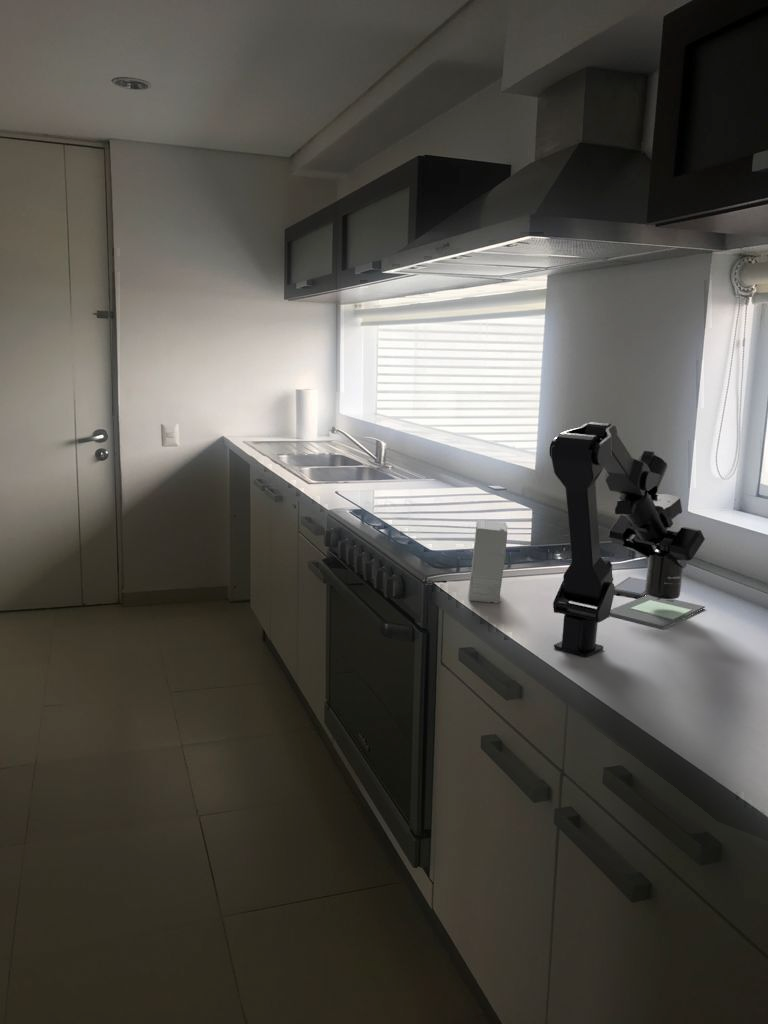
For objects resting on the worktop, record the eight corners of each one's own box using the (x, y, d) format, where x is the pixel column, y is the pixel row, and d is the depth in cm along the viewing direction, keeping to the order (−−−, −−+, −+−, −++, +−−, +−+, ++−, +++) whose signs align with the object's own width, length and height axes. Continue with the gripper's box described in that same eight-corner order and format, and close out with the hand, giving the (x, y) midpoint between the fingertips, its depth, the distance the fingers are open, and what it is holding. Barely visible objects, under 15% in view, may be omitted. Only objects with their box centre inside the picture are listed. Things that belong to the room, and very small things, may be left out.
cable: (654, 604, 181) (654, 601, 181) (614, 594, 187) (614, 591, 187) (669, 598, 186) (669, 594, 186) (630, 589, 192) (630, 585, 192)
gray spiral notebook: (662, 628, 164) (663, 624, 164) (605, 614, 172) (606, 609, 172) (704, 609, 179) (704, 604, 178) (650, 596, 187) (650, 592, 186)
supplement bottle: (673, 601, 169) (679, 542, 167) (639, 595, 173) (645, 536, 171) (684, 595, 174) (690, 537, 172) (651, 589, 178) (657, 532, 176)
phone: (641, 598, 184) (642, 594, 184) (609, 593, 188) (610, 589, 188) (659, 585, 196) (659, 581, 196) (628, 580, 200) (629, 576, 200)
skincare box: (468, 590, 185) (473, 518, 182) (501, 593, 184) (506, 520, 181) (468, 601, 177) (472, 526, 174) (503, 604, 176) (508, 528, 173)
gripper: (705, 488, 160) (731, 541, 169) (623, 475, 175) (650, 524, 183) (675, 533, 157) (703, 585, 165) (594, 516, 171) (623, 564, 180)
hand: (669, 562), depth 173 cm, fingers closed on supplement bottle, 7 cm apart
